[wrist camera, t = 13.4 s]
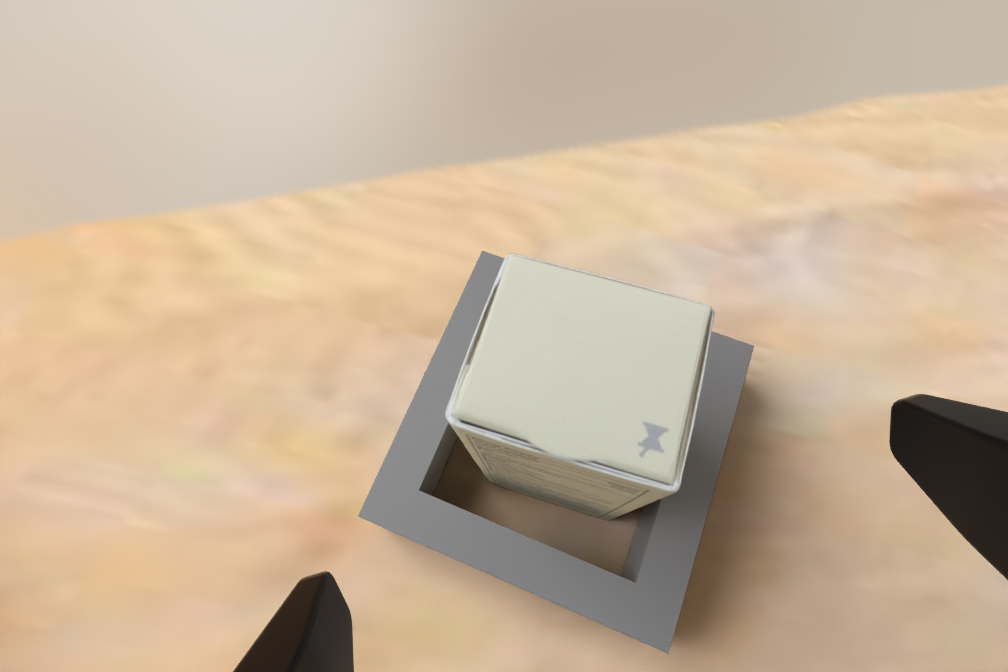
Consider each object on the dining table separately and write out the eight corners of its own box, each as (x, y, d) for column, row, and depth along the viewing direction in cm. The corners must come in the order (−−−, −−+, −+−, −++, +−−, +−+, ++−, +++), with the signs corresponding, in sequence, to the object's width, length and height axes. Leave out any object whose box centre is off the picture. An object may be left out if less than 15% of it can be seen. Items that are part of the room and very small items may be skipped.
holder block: (725, 370, 24) (753, 346, 21) (648, 639, 20) (668, 653, 17) (486, 284, 25) (482, 250, 22) (378, 520, 22) (357, 516, 19)
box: (638, 416, 23) (734, 306, 13) (610, 525, 22) (693, 503, 11) (511, 377, 24) (504, 243, 13) (477, 480, 22) (438, 421, 12)
